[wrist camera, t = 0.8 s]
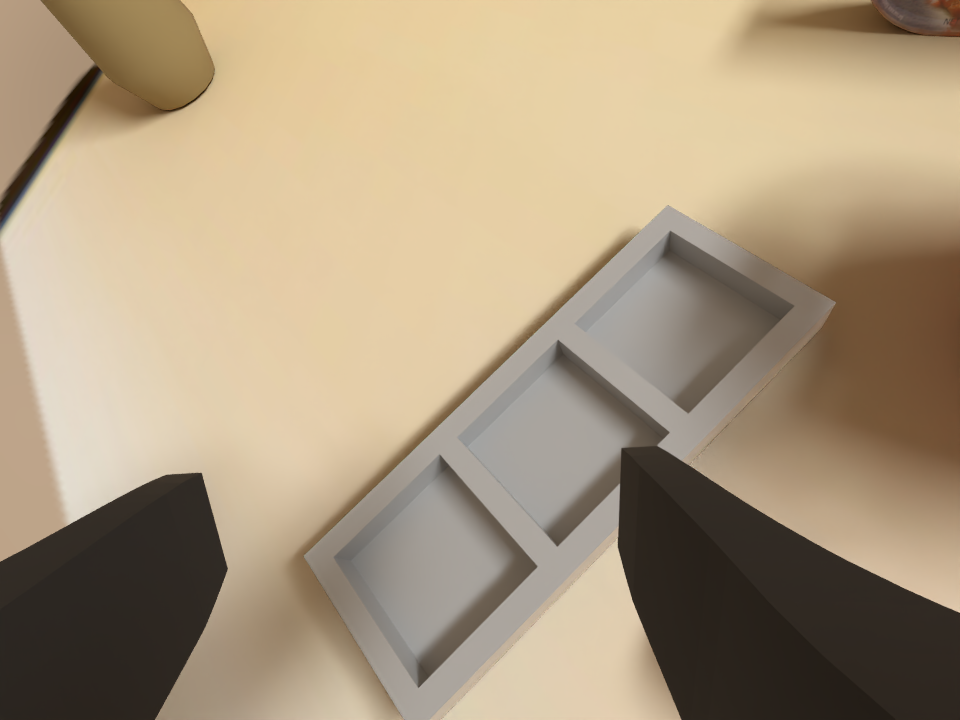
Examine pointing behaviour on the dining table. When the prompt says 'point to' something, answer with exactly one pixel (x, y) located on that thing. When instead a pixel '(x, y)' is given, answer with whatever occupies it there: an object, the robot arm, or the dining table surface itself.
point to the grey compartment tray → (554, 456)
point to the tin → (922, 15)
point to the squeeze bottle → (141, 46)
